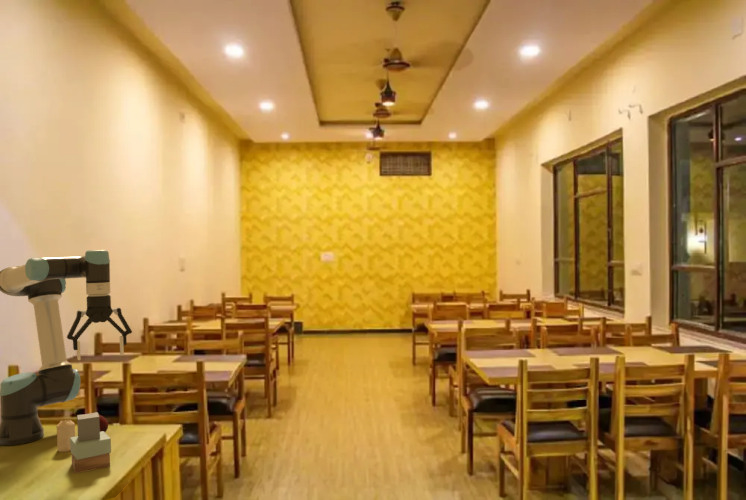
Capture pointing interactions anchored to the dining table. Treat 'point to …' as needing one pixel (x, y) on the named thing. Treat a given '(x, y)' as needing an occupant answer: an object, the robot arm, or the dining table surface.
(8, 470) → the dining table surface
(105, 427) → the apple
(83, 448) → the tower top
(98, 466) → the tower base
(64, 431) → the beige bottle
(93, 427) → the block
